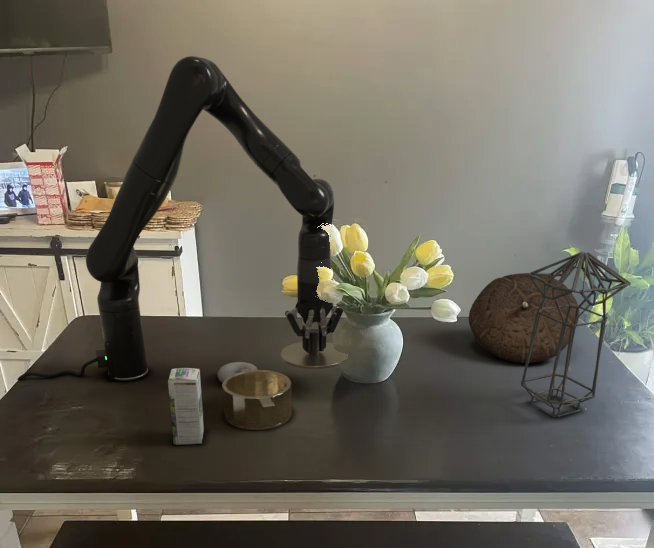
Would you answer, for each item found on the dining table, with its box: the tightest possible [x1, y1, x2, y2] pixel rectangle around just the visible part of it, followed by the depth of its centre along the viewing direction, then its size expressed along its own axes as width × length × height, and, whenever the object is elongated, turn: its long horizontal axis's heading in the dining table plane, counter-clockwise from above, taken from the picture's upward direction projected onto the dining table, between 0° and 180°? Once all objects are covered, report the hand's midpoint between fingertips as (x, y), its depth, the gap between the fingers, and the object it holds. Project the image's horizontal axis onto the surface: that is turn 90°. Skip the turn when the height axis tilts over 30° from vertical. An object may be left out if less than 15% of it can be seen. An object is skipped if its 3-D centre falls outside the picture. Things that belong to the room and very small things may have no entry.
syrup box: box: [167, 367, 205, 446], centre depth 136 cm, size 6×6×14 cm
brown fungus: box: [468, 272, 580, 364], centre depth 178 cm, size 28×23×25 cm
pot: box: [221, 368, 293, 431], centre depth 147 cm, size 15×20×8 cm
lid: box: [280, 328, 349, 370], centre depth 155 cm, size 16×16×7 cm
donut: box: [217, 361, 259, 384], centre depth 164 cm, size 10×3×10 cm
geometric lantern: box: [520, 250, 632, 418], centre depth 145 cm, size 16×16×35 cm
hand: (314, 350), depth 156 cm, fingers closed on lid, 2 cm apart
